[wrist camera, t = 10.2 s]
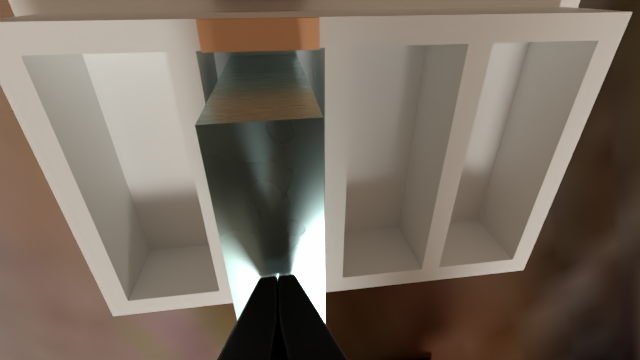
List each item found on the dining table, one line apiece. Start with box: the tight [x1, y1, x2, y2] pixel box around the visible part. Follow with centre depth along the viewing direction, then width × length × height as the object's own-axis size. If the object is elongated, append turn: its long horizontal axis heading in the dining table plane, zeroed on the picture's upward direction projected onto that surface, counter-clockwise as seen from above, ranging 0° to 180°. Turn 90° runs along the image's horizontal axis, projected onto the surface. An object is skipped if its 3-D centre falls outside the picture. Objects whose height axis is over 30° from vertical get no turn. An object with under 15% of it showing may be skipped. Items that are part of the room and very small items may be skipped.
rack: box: [0, 0, 632, 316], centre depth 13 cm, size 14×20×4 cm
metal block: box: [195, 53, 325, 322], centre depth 11 cm, size 8×2×7 cm, turn 1°
